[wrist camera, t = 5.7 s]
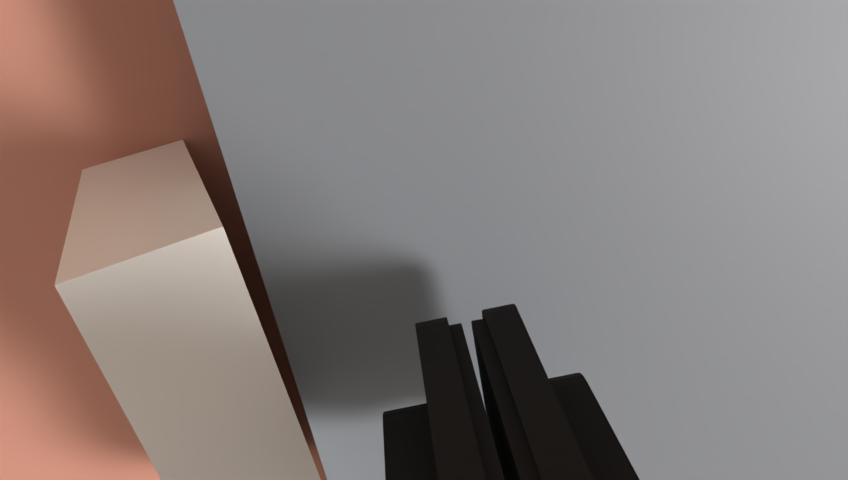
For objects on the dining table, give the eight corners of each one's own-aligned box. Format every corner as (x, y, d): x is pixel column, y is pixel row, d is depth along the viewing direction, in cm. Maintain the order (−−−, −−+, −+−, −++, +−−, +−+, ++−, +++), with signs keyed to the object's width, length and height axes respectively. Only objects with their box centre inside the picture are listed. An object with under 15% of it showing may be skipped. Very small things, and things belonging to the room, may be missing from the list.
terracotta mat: (-699, -242, 9) (-741, -249, 9) (63, -373, 10) (51, -386, 9) (6, 661, 20) (0, 674, 19) (367, 590, 20) (367, 602, 20)
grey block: (148, -304, 10) (28, -448, 6) (965, -447, 10) (1292, -665, 7) (392, 565, 20) (398, 702, 16) (813, 482, 20) (914, 599, 16)
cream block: (183, 139, 13) (82, 169, 12) (223, 226, 8) (54, 285, 7) (304, 450, 17) (232, 484, 16) (383, 643, 12) (284, 704, 11)
